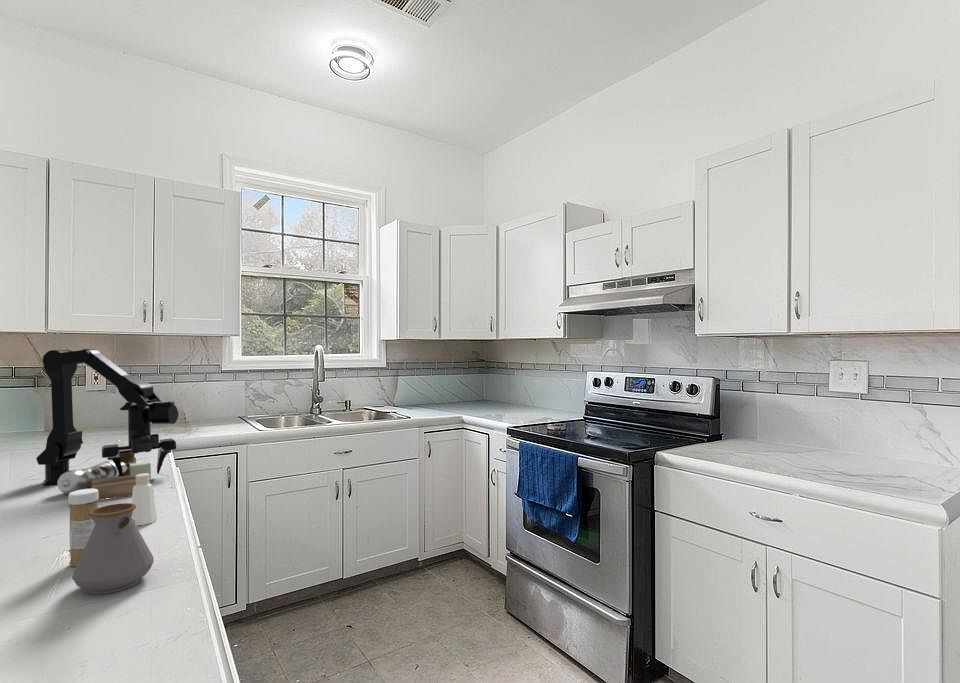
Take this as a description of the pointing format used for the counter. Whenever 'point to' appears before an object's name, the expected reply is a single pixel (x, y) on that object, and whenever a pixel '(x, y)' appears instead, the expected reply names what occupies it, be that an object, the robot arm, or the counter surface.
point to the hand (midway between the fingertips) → (140, 476)
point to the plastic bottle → (87, 476)
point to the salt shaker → (143, 501)
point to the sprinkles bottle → (81, 520)
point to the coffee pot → (113, 552)
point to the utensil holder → (127, 460)
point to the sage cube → (140, 468)
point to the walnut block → (114, 486)
